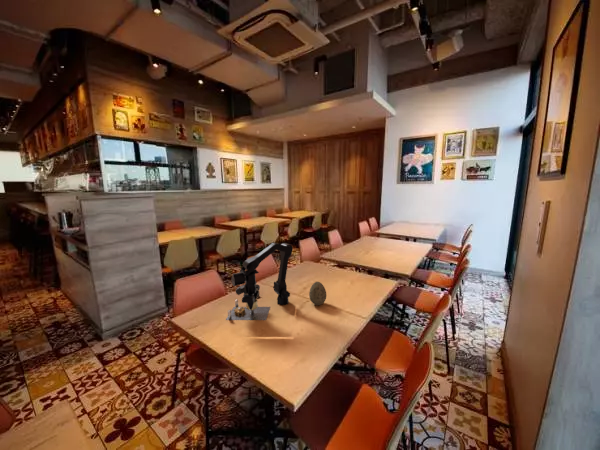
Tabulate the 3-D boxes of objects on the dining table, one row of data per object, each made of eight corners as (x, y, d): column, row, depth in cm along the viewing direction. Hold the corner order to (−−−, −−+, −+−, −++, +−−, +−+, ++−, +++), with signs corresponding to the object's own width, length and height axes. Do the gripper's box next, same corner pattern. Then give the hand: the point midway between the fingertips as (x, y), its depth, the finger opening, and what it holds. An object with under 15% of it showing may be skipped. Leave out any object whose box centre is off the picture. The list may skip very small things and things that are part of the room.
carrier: (270, 308, 149) (270, 299, 148) (266, 321, 134) (265, 311, 133) (234, 308, 150) (233, 299, 149) (225, 321, 135) (224, 311, 134)
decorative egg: (314, 299, 160) (313, 277, 157) (329, 302, 154) (329, 280, 152) (306, 306, 150) (305, 283, 148) (322, 310, 145) (321, 286, 143)
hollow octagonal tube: (258, 304, 144) (257, 298, 143) (256, 309, 138) (255, 303, 137) (248, 304, 144) (248, 298, 144) (245, 309, 138) (245, 303, 138)
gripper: (241, 275, 148) (243, 299, 151) (231, 288, 130) (233, 315, 132) (259, 275, 148) (260, 299, 150) (251, 288, 129) (253, 315, 132)
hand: (252, 306), depth 141 cm, fingers closed on hollow octagonal tube, 6 cm apart
